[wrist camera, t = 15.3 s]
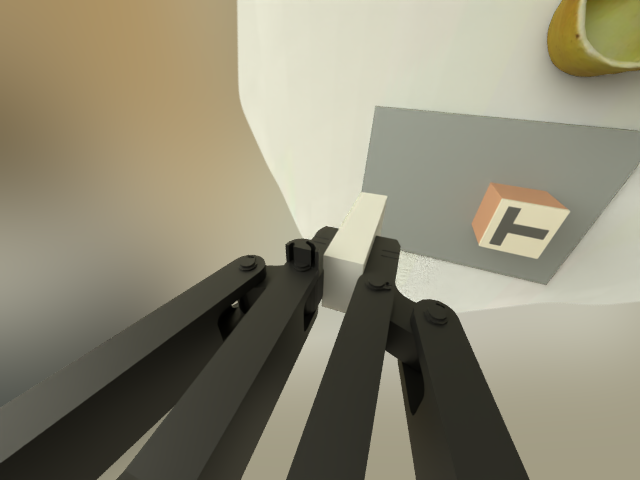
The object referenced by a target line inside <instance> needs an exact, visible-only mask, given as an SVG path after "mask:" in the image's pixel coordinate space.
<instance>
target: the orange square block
mask: <svg viewBox="0 0 640 480" xmlns="http://www.w3.org/2000/svg"><path fill="white" fill-rule="evenodd" d="M569 213H570V210H568V209H567V208H566V207H565V206H564V205H562V204H561V203H560V202H559V201H558V200H556V199H555V198H554V197H553V196H552V195H550V194H549V193H548V192H547V191H542V190H536V189H529V188H523V187H517V186H511V185H504V184H498V183H492V182H490V184H489V187H488V189H487V191H486V193H485V195H484V197H483V200H482V202H481V204H480V206H479V208H478V211H477V213H476V215H475V217H474V219H473V221H472V227H473V230H474V233H475V236H476V239H477V241H478V244H479V246H481V247H485V248H490V249H494V250H499V251H504V252H508V253H513V254H517V255H522V256H526V257H531V258H535V259H538V258H539V256H540V255H541V253H542V252H543V250H544V249H545V247H546V246H547V245H548V243H549V242H550V240H551V239H552V237H553V236H554V234H555V233H556V232H557V230H558V229H559V227H560V226H561V224H562V223H563V221H564V220H565V219H566V217H567V216H568V214H569Z"/></svg>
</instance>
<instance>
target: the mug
mask: <svg viewBox="0 0 640 480" xmlns="http://www.w3.org/2000/svg"><path fill="white" fill-rule="evenodd" d="M547 44H548V52H549V56H550V58H551V61H552V62H553V64H554V65H555V66H556V67H557V68H558V69H560V70H561V71H563V72H565V73H568V74H570V75H574V76H580V77H591V76H599V75H605V74H616V73H621V72H626V71H637V70H640V0H562V2H561V3H560V5H559V6H558V8H557V10H556V11H555V13H554V15H553V18H552V20H551V23H550V25H549V29H548V36H547Z"/></svg>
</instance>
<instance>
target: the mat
mask: <svg viewBox="0 0 640 480" xmlns="http://www.w3.org/2000/svg"><path fill="white" fill-rule="evenodd" d="M639 163H640V131H634V130H624V129H613V128H603V127H592V126H582V125H571V124H561V123H550V122H540V121H529V120H518V119H508V118H497V117H487V116H476V115H466V114H455V113H445V112H434V111H423V110H413V109H402V108H392V107H381V106H375V112H374V118H373V124H372V131H371V137H370V143H369V149H368V155H367V161H366V167H365V174H364V180H363V186H362V192H365V193H372V194H378V195H385V196H387V202H386V207H385V213H384V218H383V224H382V229H381V235H380V236H381V237H386V238H392V239H397V240H398V242H399V244H400V246H401V248H400V250H402V251H406V252H410V253H414V254H419V255H423V256H427V257H431V258H435V259H440V260H444V261H448V262H452V263H456V264H460V265H465V266H469V267H473V268H477V269H481V270H486V271H490V272H494V273H498V274H502V275H507V276H511V277H515V278H519V279H523V280H528V281H532V282H536V283H540V284H544V285H547V283H548V282H549V281H550V279H551V278H552V277H553V275H554V274H555V273H556V272H557V270H558V269H559V268H560V266H561V265H562V264H563V262H564V261H565V260H566V258H567V257H568V256H569V255H570V253H571V252H572V251H573V249H574V248H575V247H576V245H577V244H578V243H579V241H580V240H581V239H582V238H583V236H584V235H585V234H586V232H587V231H588V230H589V228H590V227H591V226H592V224H593V223H594V222H595V221H596V219H597V218H598V217H599V215H600V214H601V213H602V211H603V210H604V209H605V207H606V206H607V205H608V204H609V202H610V201H611V200H612V198H613V197H614V196H615V194H616V193H617V192H618V190H619V189H620V188H621V187H622V185H623V184H624V183H625V181H626V180H627V179H628V177H629V176H630V175H631V173H632V172H633V171H634V170H635V168H636V167H637V166H638V164H639ZM490 182H492V183H498V184H504V185H511V186H517V187H523V188H529V189H536V190H542V191H547V192H548V193H549V194H550V195H552V196H553V197H554V198H555V199H556V200H558V201H559V202H560V203H561V204H562V205H564V206H565V207H566V208H567V209H568V210H570V213H569V214H568V216H567V217H566V219H565V220H564V221H563V223H562V224H561V226H560V227H559V229H558V230H557V232H556V233H555V234H554V236H553V237H552V239H551V240H550V242H549V243H548V245H547V246H546V247H545V249H544V250H543V252H542V253H541V255H540V256H539V258H538V259H535V258H531V257H526V256H522V255H517V254H513V253H508V252H504V251H499V250H494V249H490V248H485V247H481V246H479V244H478V241H477V239H476V236H475V233H474V230H473V227H472V221H473V219H474V217H475V215H476V213H477V211H478V208H479V206H480V204H481V202H482V200H483V197H484V195H485V193H486V191H487V189H488V187H489V184H490Z"/></svg>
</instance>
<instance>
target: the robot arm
mask: <svg viewBox="0 0 640 480" xmlns="http://www.w3.org/2000/svg"><path fill="white" fill-rule="evenodd" d="M386 202H387V196H385V195H378V194H372V193H365V192H361V193H360V195H359V197H358V198H357V200H356V202H355V203H354V205H353V207H352V208H351V210H350V212H349V213H348V215H347V217H346V218H345V220H344V222H343V223H342V225H341V227H340V228H339V229H338V228H333V227H328V226H325V227H324V228H322V229H320V230H318V232H317V233H316V235H315V236H314V237H313V239H312V240H309V239H295V240H292V241H289V242H288V243H287V244H286V259H287V262H286V263H285V265H282V266H266V265H265V261H264V259H263V258H261V257H260V256H256V255H247V256H242V257H240V258H238V259H236V260H234V261H233V262H231V263H229V264H228V265H227V266H225V267H223V268H222V269H220V270H218V271H217V272H215V273H214V274H212V275H211V276H209V277H207V278H206V279H204V280H202V281H201V282H199V283H198V284H196V285H195V286H193V287H191V288H190V289H188V290H187V291H185V292H183V293H182V294H180V295H179V296H177V297H175V298H174V299H172V300H171V301H169V302H168V303H166V304H164V305H163V306H161V307H160V308H158V309H157V310H155V311H153V312H152V313H150V314H148V315H147V316H145V317H144V318H142V319H140V320H139V321H137V322H136V323H134V324H133V325H131V326H130V327H128V328H126V329H125V330H123V331H122V332H120V333H118V334H117V335H115V336H114V337H112V338H110V339H109V340H107V341H106V342H104V343H102V344H101V345H99V346H98V347H96V348H94V349H93V350H91V351H90V352H88V353H86V354H85V355H83V356H82V357H80V358H79V359H77V360H75V361H74V362H72V363H71V364H69V365H67V366H66V367H64V368H63V369H61V370H60V371H58V372H56V373H55V374H53V375H52V376H50V377H48V378H47V379H45V380H44V381H42V382H40V383H39V384H38V385H36V386H34V387H33V388H31V389H29V390H28V391H26V392H25V393H23V394H21V395H20V396H18V397H17V398H15V399H13V400H12V401H10V402H9V403H7V404H6V405H4V406H3V407H1V408H0V480H97V479H98V478H99V476H101V475H102V474H103V473H104V472H105V471H106V470H107V469H108V468H109V467H110V466H111V465H113V464H114V462H116V461H117V460H118V459H119V458H120V457H121V456H122V455H123V454H124V453H125V452H126V451H127V450H128V449H129V448H130V447H131V446H133V445H134V444H135V443H136V442H137V441H138V440H139V439H140V438H141V437H142V436H143V435H144V434H145V433H146V432H147V431H148V430H149V429H150V428H152V427H153V426H154V425H155V424H156V423H157V422H158V421H159V420H160V419H161V418H162V417H163V416H164V415H165V414H166V413H167V412H168V411H170V409H172V408H173V409H172V410H171V411H170V413H169V414H168V415H167V417H166V418H165V419H164V420H163V422H162V423H161V424H160V425H159V427H158V428H157V429H156V431H155V432H154V433H153V434H152V436H151V437H150V439H149V440H148V441H147V442H146V444H145V445H144V446H143V447H142V449H141V450H140V451H139V453H138V454H137V455H136V456H135V458H134V459H133V460H132V462H131V463H130V464H129V465H128V467H127V468H126V469H125V471H124V472H123V473H122V474H121V475H120V476H119V477H118V478H117V479H116V480H241V478H242V475H243V473H244V471H245V469H246V467H247V465H248V463H249V461H250V458H251V456H252V454H253V452H254V450H255V448H256V446H257V444H258V441H259V439H260V437H261V435H262V433H263V430H264V429H265V426H266V424H267V422H268V420H269V418H270V416H271V414H272V411H273V409H274V407H275V405H276V403H277V401H278V399H279V396H280V394H281V392H282V390H283V388H284V386H285V384H286V381H287V379H288V377H289V375H290V373H291V371H292V369H293V366H294V364H295V362H296V360H297V358H298V356H299V354H300V352H301V349H302V347H303V345H304V343H305V341H306V339H307V337H308V334H309V332H310V330H311V328H312V326H313V324H314V321H315V319H316V317H317V314H318V305H319V303H320V301H321V299H322V306H323V307H327V308H330V309H334V310H337V311H340V312H343V313H346V314H345V316H344V319H343V322H342V325H341V328H340V330H339V333H338V336H337V339H336V342H335V345H334V347H333V350H332V353H331V356H330V358H329V361H328V364H327V367H326V370H325V372H324V375H323V378H322V381H321V384H320V386H319V389H318V392H317V395H316V398H315V400H314V403H313V406H312V409H311V412H310V415H309V417H308V420H307V423H306V426H305V428H304V431H303V434H302V437H301V440H300V442H299V445H298V448H297V451H296V454H295V456H294V459H293V462H292V465H291V468H290V470H289V473H288V476H287V479H286V480H364V478H365V471H366V466H367V460H368V453H369V447H370V441H371V435H372V429H373V422H374V416H375V409H376V403H377V397H378V391H379V385H380V379H381V372H382V366H383V360H384V353H385V350H386V351H387V352H389V353H390V354H392V355H393V356H394V357H396V358H397V359H398V366H399V373H400V379H401V385H402V392H403V398H404V405H405V411H406V417H407V424H408V430H409V437H410V442H411V449H412V456H413V463H414V469H415V475H416V480H529V477H528V475H527V473H526V470H525V468H524V466H523V464H522V461H521V459H520V457H519V455H518V452H517V450H516V448H515V445H514V443H513V441H512V439H511V436H510V434H509V432H508V430H507V427H506V425H505V423H504V420H503V418H502V416H501V414H500V411H499V409H498V407H497V405H496V402H495V400H494V398H493V395H492V393H491V391H490V389H489V387H488V384H487V382H486V380H485V378H484V375H483V373H482V370H481V368H480V366H479V364H478V361H477V359H476V357H475V355H474V352H473V350H472V348H471V346H470V343H469V341H468V339H467V337H466V334H465V332H464V330H463V327H462V325H461V323H460V320H459V318H458V316H457V315H456V314H455V312H454V311H453V310H452V309H451V308H450V307H448V306H447V305H445V304H443V303H441V302H439V301H436V300H431V299H427V300H421V301H419V302H417V303H415V302H413V301H411V300H410V299H408V298H406V297H405V296H403V295H402V294H401V293H400V292H399V291H398V289H397V287H396V285H395V279H396V273H397V267H398V260H399V254H400V248H401V246H400V244H399V242H398V240H397V239H392V238H386V237H381V236H380V235H381V229H382V224H383V218H384V213H385V207H386ZM237 300H238V303H237V304H235V305H233V306H232V304H233V303H234V302H236V301H237Z"/></svg>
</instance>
